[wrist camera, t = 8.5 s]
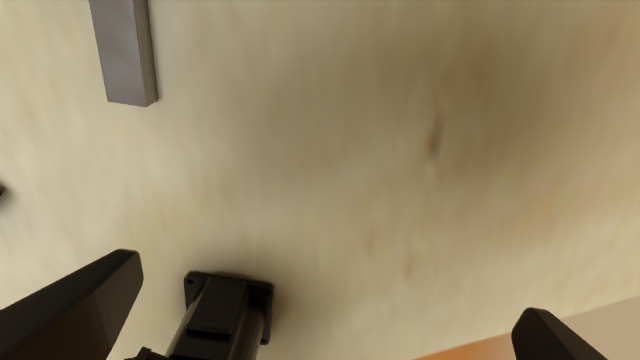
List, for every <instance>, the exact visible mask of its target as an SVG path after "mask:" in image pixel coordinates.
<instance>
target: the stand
mask: <svg viewBox="0 0 640 360" xmlns="http://www.w3.org/2000/svg"><path fill="white" fill-rule="evenodd" d="M89 3H90V9H91V14H92V20H93V25H94V30H95V36H96V41H97V46H98V52H99V57H100V63H101V68H102V73H103V79H104V84H105V89H106V95H107V100H108V102H114V103H121V104H128V105H135V106H142V107H147V106H149V105H151V104H152V103H154V102H156V101H157V92H156V83H155V74H154V65H153V56H152V47H151V38H150V29H149V20H148V12H147V3H146V0H89Z"/></svg>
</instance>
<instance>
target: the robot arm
mask: <svg viewBox="0 0 640 360" xmlns="http://www.w3.org/2000/svg"><path fill="white" fill-rule="evenodd" d="M143 278H144V277H143V270H142V265H141V259H140V255H139V253H138V252H137V251H135V250H128V249H117V250H115V251H113V252H111V253H109V254H107V255H105V256H103V257H101V258H100V259H98V260H96V261H94V262H92V263H90V264H88V265H86V266H84V267H82V268H80V269H78V270H77V271H75V272H73V273H71V274H69V275H67V276H65V277H63V278H61V279H59V280H57V281H56V282H54V283H52V284H50V285H48V286H46V287H44V288H42V289H40V290H38V291H36V292H34V293H33V294H31V295H29V296H27V297H25V298H23V299H21V300H19V301H17V302H15V303H13V304H11V305H10V306H8V307H6V308H4V309H2V310H0V360H106V359H107V357H108V355H109V353H110V352H111V350H112V348H113V346H114V344H115V342H116V340H117V338H118V336H119V333H120V331H121V329H122V327H123V325H124V323H125V321H126V319H127V317H128V314H129V312H130V310H131V308H132V306H133V304H134V302H135V300H136V298H137V295H138V293H139V291H140V289H141V287H142V284H143ZM184 290H185V300H186V310H187V312H186V314H185V316H184V318H183V320H182V322H181V324H180V326H179V328H178V330H177V332H176V334H175V336H174V338H173V340H172V342H171V344H170V346H169V348H168V350H167V352H166V354H165V356H163V355H160V354H157V353H155V352H152V351H151V350H152V349H149V348H146V347H142V348H141V350H140V352H139V353H138V355H137V357H134V358H128V359H124V360H256V357H257V353H258V349H259V345H267V344H268V343H269V341H270V334H271V322H272V310H273V298H274V287H273V286H272V285H271V284H268V283H261V282H254V281H247V280H240V279H233V278H226V277H219V276H212V275H205V274H198V273H188V274H187V275H186V276H185V278H184ZM266 290H268V291H266ZM511 337H512V344H513V348H514V352H515V356H516V360H608V359H607V358H605V357H604V356H603V355H602V354H600V353H599V352H598V351H597V350H595V349H594V348H593V347H592V346H590V345H589V344H588V343H587V342H586V341H585V340H583V339H582V338H581V337H580V336H579V335H577V334H576V333H575V332H574V331H572V330H571V329H570V328H569V327H568V326H566V325H565V324H564V323H563V322H561V321H560V320H559V319H558V318H557V317H555V316H554V315H553V314H552V313H550V312H549V311H547V310H545V309H538V308H531V307H530V308H527V309H525V310H524V311H523V313H522V315H521V316H520V318H519V319H518V321H517V323H516V324H515V326H514V328H513V329H512V334H511Z"/></svg>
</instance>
